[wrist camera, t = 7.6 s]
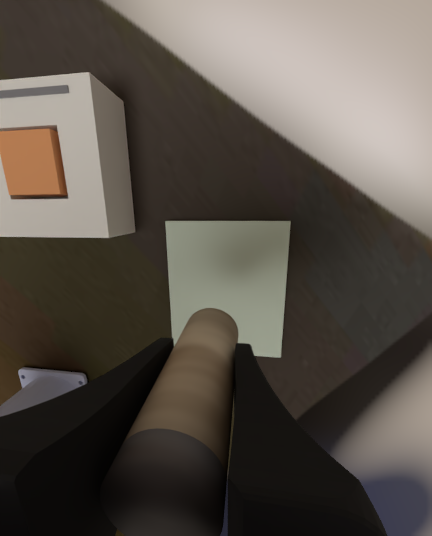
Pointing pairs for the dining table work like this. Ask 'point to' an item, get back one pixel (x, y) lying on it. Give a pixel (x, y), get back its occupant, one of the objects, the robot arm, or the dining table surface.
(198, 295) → the sage board
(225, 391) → the tan lidded jar
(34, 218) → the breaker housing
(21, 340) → the dining table surface
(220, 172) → the dining table surface
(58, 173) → the button
